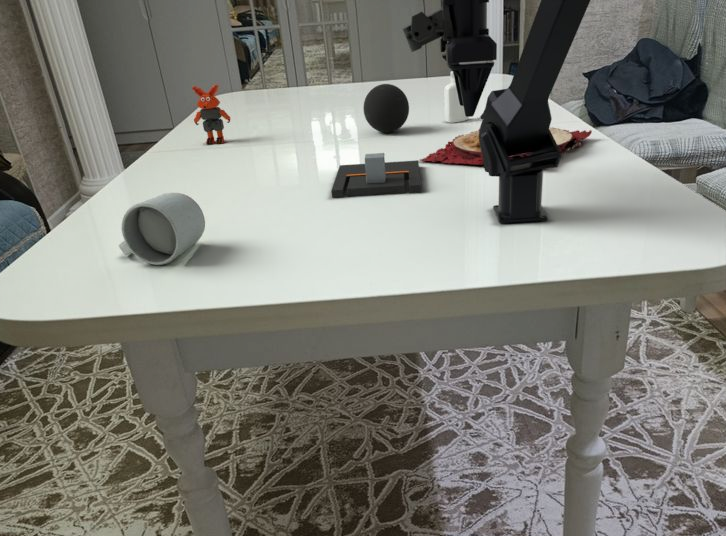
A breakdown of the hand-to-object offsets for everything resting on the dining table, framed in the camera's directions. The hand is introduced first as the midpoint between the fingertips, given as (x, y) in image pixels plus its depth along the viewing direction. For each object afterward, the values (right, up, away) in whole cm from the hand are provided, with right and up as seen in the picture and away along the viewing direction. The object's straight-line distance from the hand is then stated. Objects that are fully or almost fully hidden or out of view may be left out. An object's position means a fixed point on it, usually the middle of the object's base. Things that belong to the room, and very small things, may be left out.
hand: (466, 110), depth 91 cm
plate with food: (+11, +3, +28) cm, 30 cm away
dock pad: (-13, -6, +15) cm, 21 cm away
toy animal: (-51, +12, +52) cm, 74 cm away
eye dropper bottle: (+4, +19, +57) cm, 60 cm away
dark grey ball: (-12, +14, +51) cm, 54 cm away
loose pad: (-13, -8, +12) cm, 19 cm away
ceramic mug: (-40, -22, -9) cm, 47 cm away
